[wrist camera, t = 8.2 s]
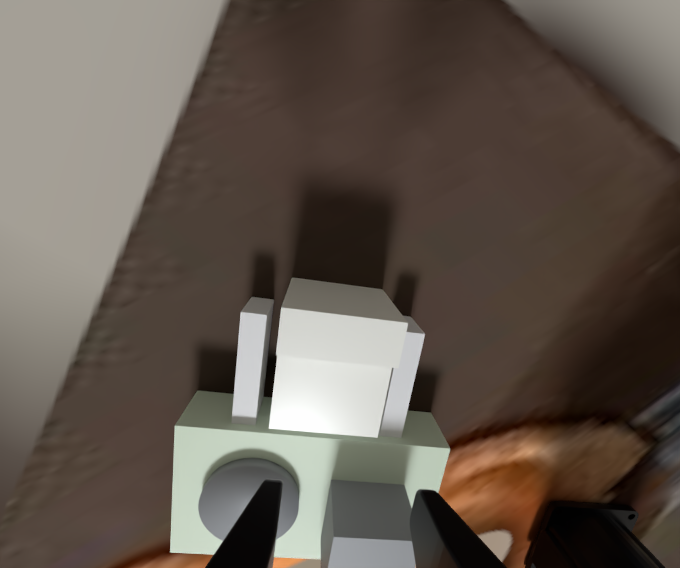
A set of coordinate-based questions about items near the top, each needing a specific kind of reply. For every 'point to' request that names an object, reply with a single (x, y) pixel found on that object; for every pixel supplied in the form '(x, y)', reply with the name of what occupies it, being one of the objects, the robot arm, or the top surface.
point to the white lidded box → (335, 358)
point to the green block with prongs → (304, 465)
